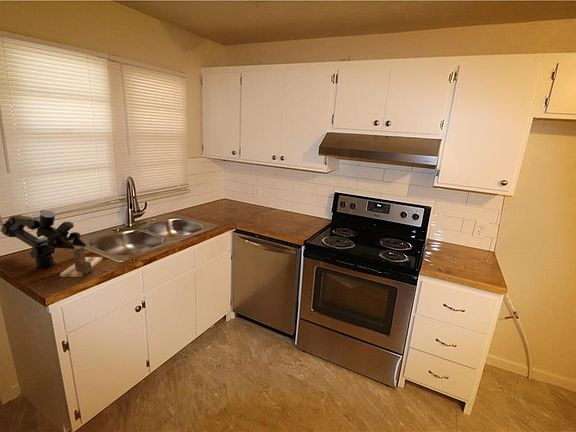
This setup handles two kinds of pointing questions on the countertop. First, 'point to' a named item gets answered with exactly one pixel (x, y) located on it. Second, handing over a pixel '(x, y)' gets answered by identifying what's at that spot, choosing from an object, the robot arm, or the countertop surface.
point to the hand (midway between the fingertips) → (79, 246)
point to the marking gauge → (81, 260)
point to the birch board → (73, 273)
